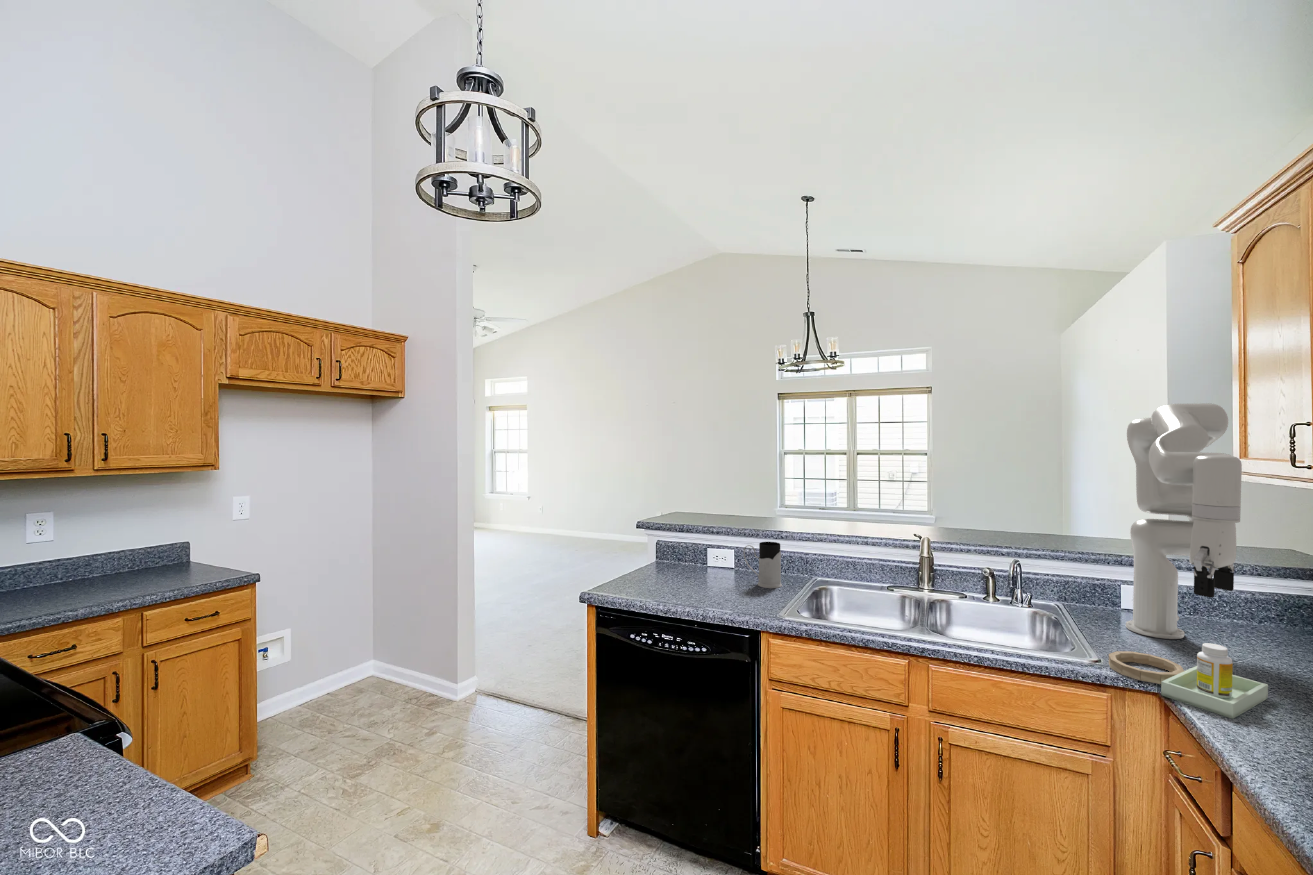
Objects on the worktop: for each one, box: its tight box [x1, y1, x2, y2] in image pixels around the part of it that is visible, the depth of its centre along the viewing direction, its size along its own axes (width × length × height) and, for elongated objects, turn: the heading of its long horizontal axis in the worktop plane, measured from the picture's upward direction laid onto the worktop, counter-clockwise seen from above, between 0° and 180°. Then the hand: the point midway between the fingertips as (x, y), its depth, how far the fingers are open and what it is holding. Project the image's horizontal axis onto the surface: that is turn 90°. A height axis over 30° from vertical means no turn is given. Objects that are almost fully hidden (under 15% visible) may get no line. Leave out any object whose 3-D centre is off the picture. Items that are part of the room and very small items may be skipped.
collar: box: [1108, 650, 1185, 685], centre depth 140 cm, size 13×13×2 cm
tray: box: [1160, 665, 1269, 720], centre depth 127 cm, size 18×12×3 cm, turn 119°
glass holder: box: [743, 541, 783, 589], centre depth 216 cm, size 9×14×15 cm, turn 64°
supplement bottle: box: [1196, 642, 1234, 698], centre depth 127 cm, size 6×6×10 cm
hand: (1213, 592), depth 127 cm, fingers open, 9 cm apart
